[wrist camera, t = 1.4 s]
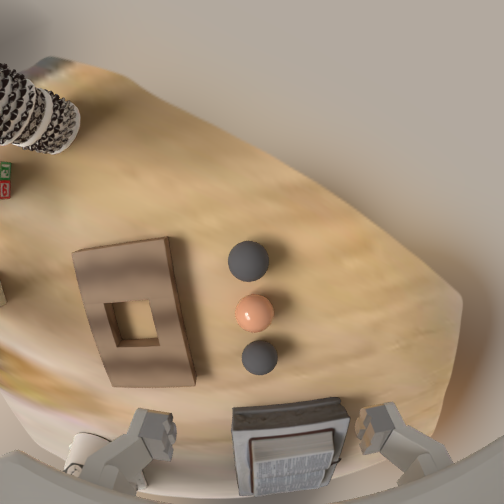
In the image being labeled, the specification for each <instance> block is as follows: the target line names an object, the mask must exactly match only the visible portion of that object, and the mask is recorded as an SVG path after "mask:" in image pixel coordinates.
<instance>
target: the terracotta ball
mask: <svg viewBox="0 0 504 504" xmlns="http://www.w3.org/2000/svg"><path fill="white" fill-rule="evenodd" d="M235 317H236V320H237V322H238V324H239V325H240V327H241V328H243V329H244V330H246V331H248V332H254V333H255V332H261V331H263V330H265V329H266V328H268V327H269V325H270V324H271V322H272V320H273V317H274V310H273V306H272V304H271V303H270V301H269V300H268V299H266V298H265V297H263V296H261V295H256V294H253V295H248V296H246V297H244V298H243V299H241V300H240V301H239V303H238V305H237V307H236V310H235Z"/></svg>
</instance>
